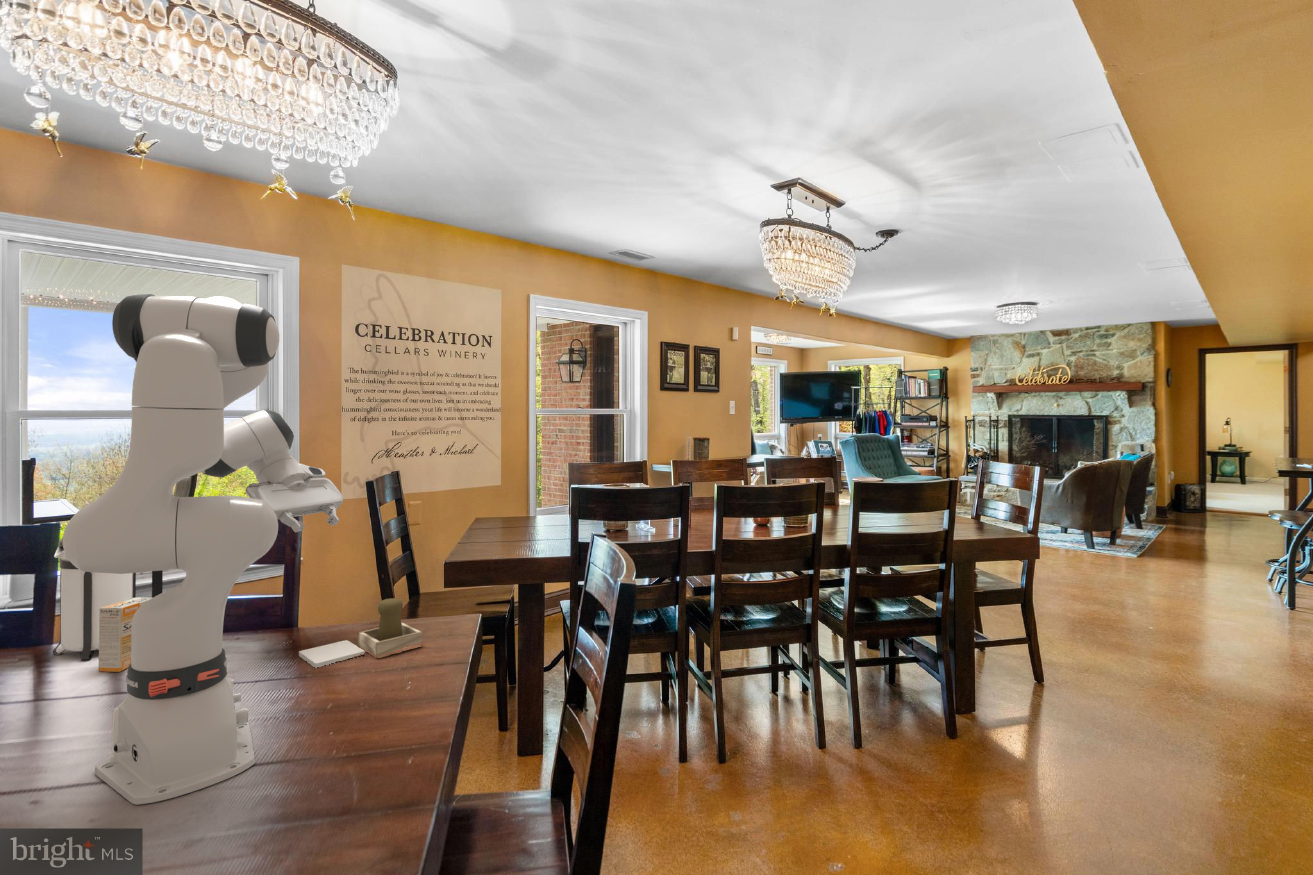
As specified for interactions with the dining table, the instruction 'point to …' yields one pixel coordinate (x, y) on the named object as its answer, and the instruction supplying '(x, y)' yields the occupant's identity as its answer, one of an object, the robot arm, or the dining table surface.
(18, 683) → the dining table surface
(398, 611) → the cork
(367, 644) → the frame
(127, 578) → the coffee press
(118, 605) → the supplement box
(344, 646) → the ceramic tile
